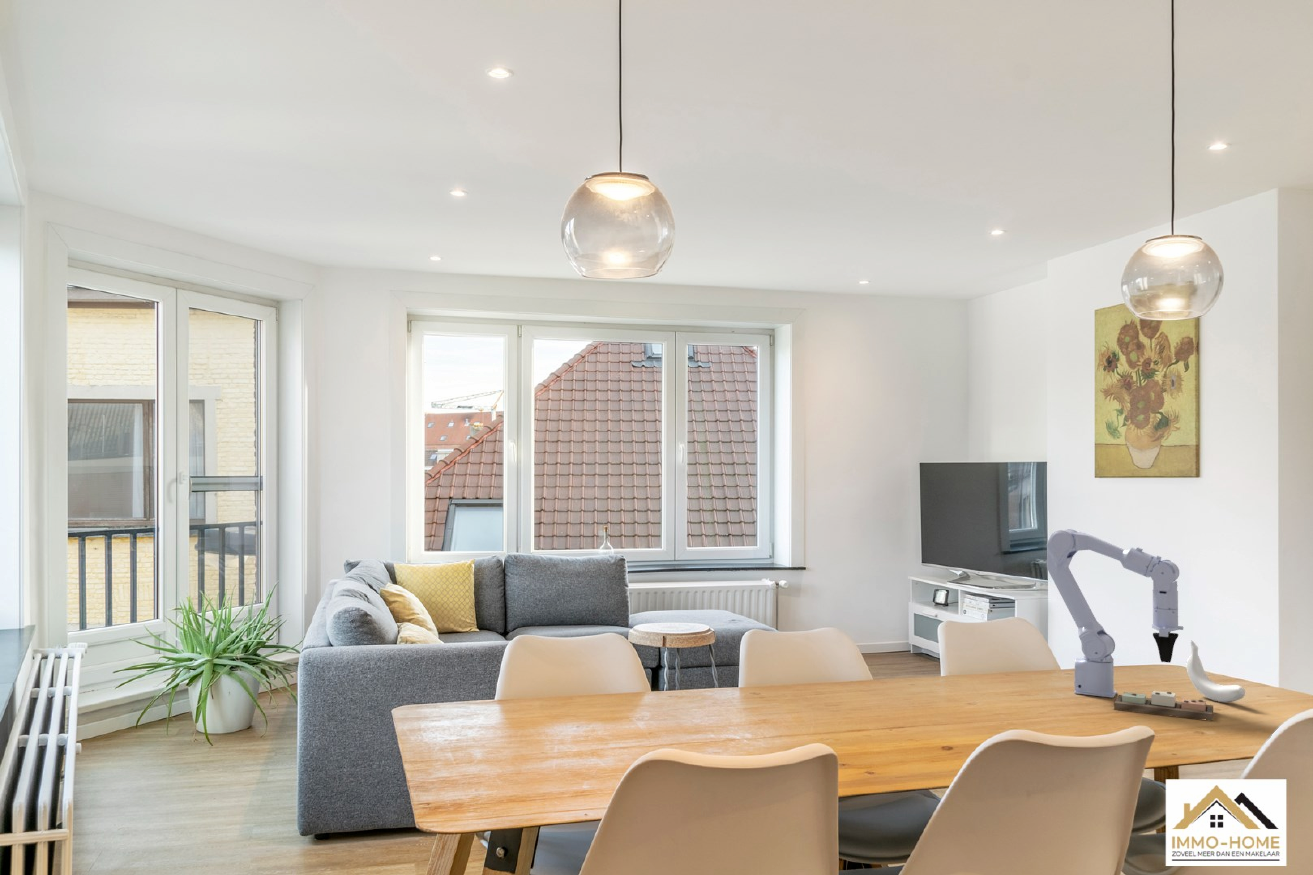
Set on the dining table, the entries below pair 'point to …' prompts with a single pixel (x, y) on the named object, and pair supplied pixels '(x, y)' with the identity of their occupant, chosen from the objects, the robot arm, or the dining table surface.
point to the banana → (1210, 681)
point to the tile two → (1163, 698)
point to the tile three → (1193, 704)
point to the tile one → (1134, 698)
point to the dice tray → (1163, 709)
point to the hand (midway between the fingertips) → (1165, 661)
